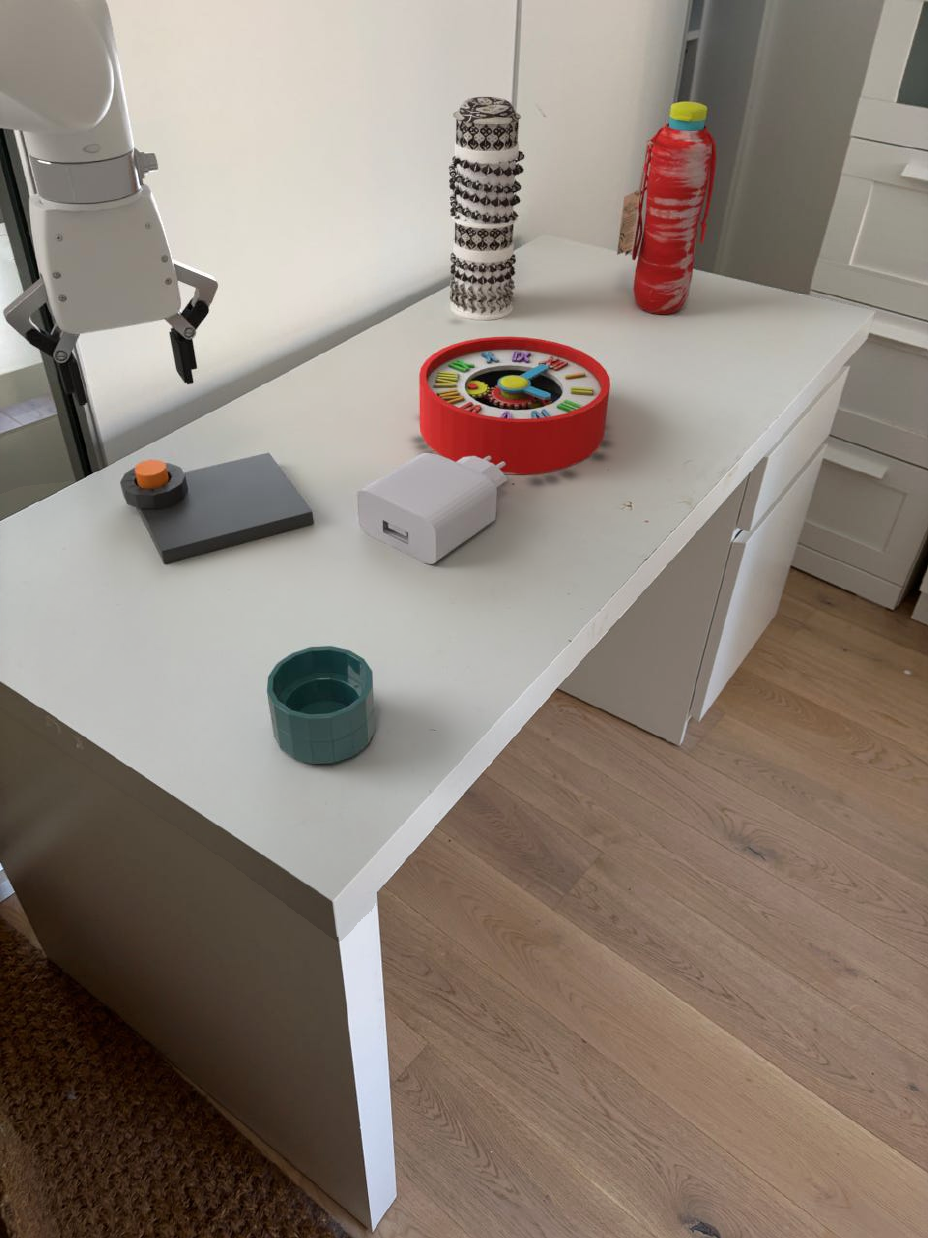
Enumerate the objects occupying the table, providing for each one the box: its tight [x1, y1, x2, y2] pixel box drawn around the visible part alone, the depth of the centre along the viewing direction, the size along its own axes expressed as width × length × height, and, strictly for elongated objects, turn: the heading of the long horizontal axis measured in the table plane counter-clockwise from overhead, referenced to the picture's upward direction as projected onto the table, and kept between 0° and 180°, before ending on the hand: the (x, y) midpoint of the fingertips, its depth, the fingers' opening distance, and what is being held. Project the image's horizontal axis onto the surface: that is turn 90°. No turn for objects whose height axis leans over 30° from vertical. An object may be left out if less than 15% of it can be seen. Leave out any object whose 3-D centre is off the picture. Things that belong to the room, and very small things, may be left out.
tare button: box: [134, 459, 169, 488], centre depth 89 cm, size 3×3×2 cm
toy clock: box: [418, 336, 611, 475], centre depth 103 cm, size 20×6×20 cm
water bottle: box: [616, 101, 717, 315], centre depth 124 cm, size 12×8×25 cm, turn 62°
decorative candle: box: [448, 96, 525, 321], centre depth 122 cm, size 9×9×25 cm
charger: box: [356, 452, 508, 565], centre depth 90 cm, size 5×9×15 cm
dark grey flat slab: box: [119, 452, 315, 565], centre depth 90 cm, size 15×12×3 cm
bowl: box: [266, 645, 376, 765], centre depth 68 cm, size 7×7×5 cm
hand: (133, 387), depth 84 cm, fingers open, 8 cm apart
